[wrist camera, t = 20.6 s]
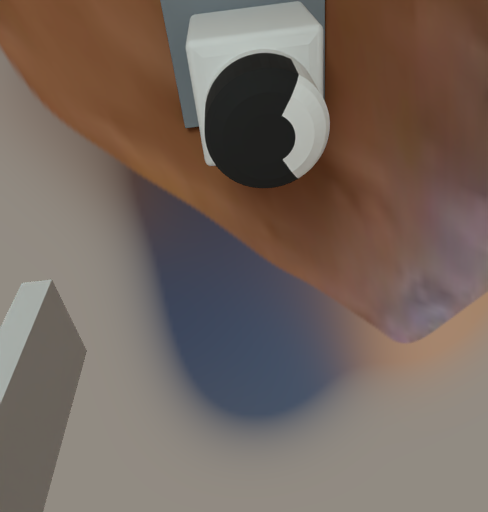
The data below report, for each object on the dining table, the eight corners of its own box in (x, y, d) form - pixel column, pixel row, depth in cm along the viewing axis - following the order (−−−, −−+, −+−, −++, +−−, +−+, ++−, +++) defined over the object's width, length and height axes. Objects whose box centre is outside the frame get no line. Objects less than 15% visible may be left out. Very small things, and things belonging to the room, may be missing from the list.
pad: (154, -37, 30) (153, -36, 29) (322, -60, 30) (324, -60, 29) (185, 124, 37) (185, 128, 36) (323, 107, 36) (324, 110, 36)
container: (206, 123, 36) (205, 212, 26) (188, 13, 31) (178, 70, 21) (304, 110, 36) (342, 196, 26) (302, -1, 31) (347, 49, 21)
